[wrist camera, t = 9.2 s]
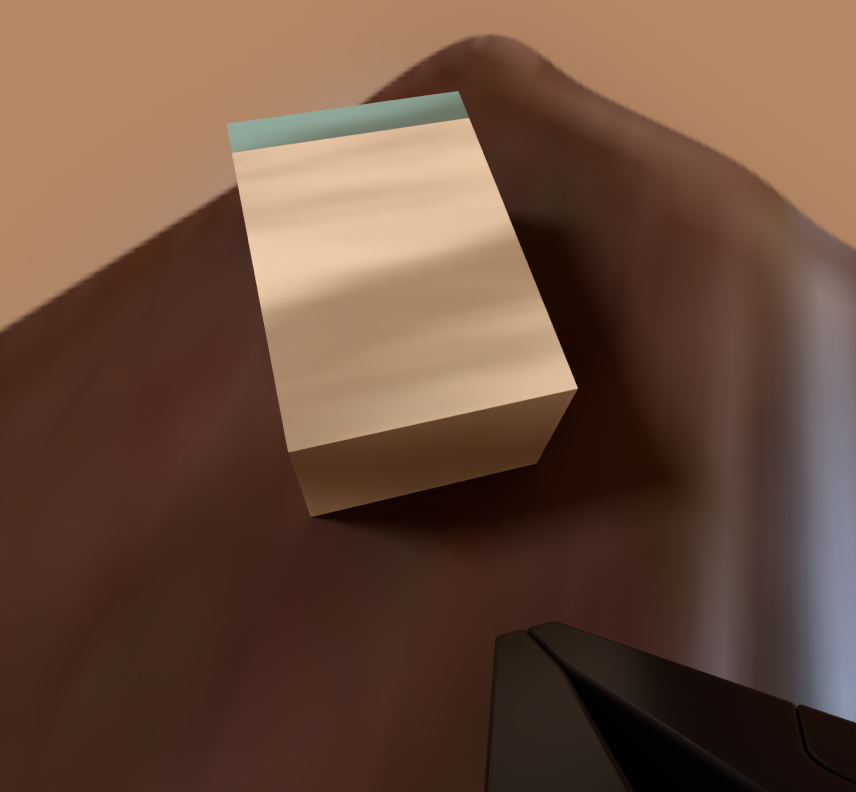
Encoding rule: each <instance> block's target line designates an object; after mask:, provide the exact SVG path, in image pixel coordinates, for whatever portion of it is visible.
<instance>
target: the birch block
mask: <svg viewBox="0 0 856 792" xmlns="http://www.w3.org/2000/svg"><path fill="white" fill-rule="evenodd" d="M227 129H228V133H229V140H230V145H231V150H232V156H233V160H234V166H235V171H236V177H237V182H238V187H239V193H240V198H241V203H242V209H243V214H244V219H245V225H246V230H247V235H248V241H249V246H250V251H251V257H252V262H253V267H254V272H255V278H256V283H257V288H258V294H259V299H260V304H261V310H262V315H263V320H264V326H265V331H266V336H267V342H268V347H269V352H270V357H271V363H272V368H273V373H274V379H275V384H276V389H277V395H278V400H279V405H280V411H281V416H282V421H283V427H284V432H285V437H286V443H287V448H288V453H289V456H290V458H291V461H292V464H293V467H294V470H295V473H296V476H297V478H298V481H299V484H300V487H301V490H302V493H303V496H304V499H305V501H306V504H307V507H308V510H309V513H310V516H311V517H313V516H317V515H322V514H326V513H330V512H334V511H338V510H343V509H347V508H351V507H355V506H359V505H364V504H368V503H372V502H376V501H381V500H385V499H389V498H393V497H397V496H402V495H406V494H410V493H414V492H418V491H423V490H427V489H431V488H435V487H440V486H444V485H448V484H452V483H456V482H461V481H465V480H469V479H473V478H477V477H482V476H486V475H490V474H494V473H499V472H503V471H507V470H511V469H515V468H520V467H524V466H528V465H532V464H536V463H537V462H538V460H539V458H540V457H541V455H542V453H543V451H544V449H545V447H546V446H547V444H548V442H549V440H550V438H551V436H552V435H553V433H554V431H555V429H556V427H557V426H558V424H559V422H560V420H561V418H562V416H563V415H564V413H565V411H566V409H567V407H568V406H569V404H570V402H571V400H572V398H573V396H574V395H575V393H576V391H577V389H578V387H577V385H576V383H575V380H574V378H573V375H572V373H571V370H570V368H569V365H568V363H567V360H566V358H565V355H564V353H563V350H562V348H561V345H560V343H559V340H558V338H557V335H556V333H555V330H554V328H553V325H552V323H551V320H550V318H549V315H548V313H547V311H546V308H545V306H544V303H543V301H542V298H541V296H540V293H539V291H538V288H537V286H536V283H535V281H534V278H533V276H532V273H531V271H530V268H529V266H528V263H527V261H526V258H525V256H524V253H523V251H522V248H521V246H520V244H519V241H518V239H517V236H516V234H515V231H514V229H513V226H512V224H511V221H510V219H509V216H508V214H507V211H506V209H505V206H504V204H503V201H502V199H501V196H500V194H499V191H498V189H497V186H496V184H495V181H494V179H493V176H492V174H491V172H490V169H489V167H488V164H487V162H486V159H485V157H484V154H483V152H482V149H481V147H480V144H479V142H478V139H477V137H476V134H475V132H474V129H473V127H472V124H471V122H470V119H469V117H468V114H467V112H466V109H465V107H464V105H463V102H462V100H461V97H460V95H459V92H458V91H457V92H450V93H442V94H435V95H428V96H421V97H414V98H407V99H400V100H393V101H385V102H378V103H371V104H364V105H357V106H350V107H343V108H336V109H329V110H321V111H315V112H308V113H300V114H293V115H286V116H279V117H272V118H265V119H258V120H250V121H243V122H236V123H229V124H227Z"/></svg>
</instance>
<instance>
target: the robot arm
mask: <svg viewBox="0 0 856 792" xmlns="http://www.w3.org/2000/svg"><path fill="white" fill-rule="evenodd" d="M484 792H856V722H852V721H849V720H846V719H843V718H840V717H837V716H834V715H831V714H828V713H825V712H822V711H819V710H816V709H814V708H811V707H808V706H805V705H798V706H797V710H796V706H795V704H794V703H792V702H790V701H787V700H784V699H781V698H778V697H775V696H772V695H769V694H766V693H763V692H760V691H758V690H755V689H752V688H749V687H746V686H743V685H740V684H737V683H734V682H731V681H728V680H725V679H723V678H720V677H717V676H714V675H711V674H708V673H705V672H702V671H699V670H696V669H693V668H690V667H687V666H685V665H682V664H679V663H676V662H673V661H670V660H667V659H664V658H661V657H658V656H655V655H652V654H650V653H647V652H644V651H641V650H638V649H635V648H632V647H629V646H626V645H623V644H620V643H617V642H615V641H612V640H609V639H606V638H603V637H600V636H597V635H594V634H591V633H588V632H585V631H582V630H580V629H577V628H574V627H571V626H568V625H565V624H562V623H559V622H554V621H553V622H548V623H544V624H541V625H537V626H533V627H530V628H529V629H528V630H527V632H526V631H525V630H518V631H514V632H510V633H506V634H502V635H499V636H497V637H496V640H495V652H494V665H493V679H492V692H491V705H490V719H489V732H488V745H487V759H486V772H485V785H484Z"/></svg>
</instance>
